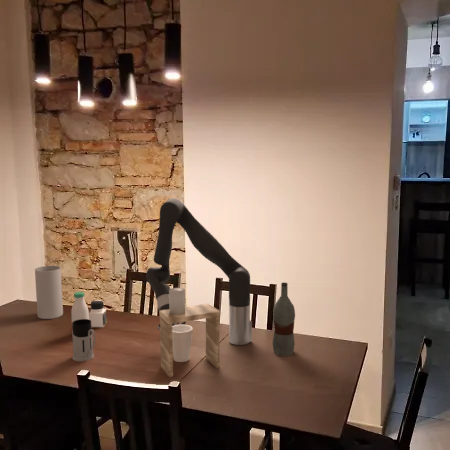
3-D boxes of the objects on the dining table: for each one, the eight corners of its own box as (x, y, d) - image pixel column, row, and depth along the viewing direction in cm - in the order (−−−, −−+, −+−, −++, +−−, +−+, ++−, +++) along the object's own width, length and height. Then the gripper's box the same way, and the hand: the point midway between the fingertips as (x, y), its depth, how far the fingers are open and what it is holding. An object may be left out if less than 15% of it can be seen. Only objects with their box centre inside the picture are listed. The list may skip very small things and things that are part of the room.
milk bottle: (93, 333, 237) (91, 292, 234) (80, 339, 231) (78, 296, 228) (81, 330, 241) (79, 289, 239) (68, 335, 235) (66, 293, 232)
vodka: (267, 352, 215) (268, 283, 211) (280, 346, 222) (281, 279, 217) (286, 358, 209) (287, 287, 205) (298, 352, 216) (300, 283, 211)
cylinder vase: (32, 319, 258) (29, 270, 255) (45, 311, 271) (42, 265, 267) (55, 320, 256) (53, 271, 253) (67, 312, 268) (65, 266, 265)
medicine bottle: (103, 327, 246) (102, 303, 244) (88, 327, 246) (87, 303, 244) (107, 322, 253) (106, 299, 251) (92, 322, 253) (91, 299, 251)
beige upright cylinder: (181, 309, 199) (181, 287, 198) (187, 313, 194) (187, 290, 193) (167, 311, 197) (166, 289, 195) (172, 316, 191) (172, 292, 190)
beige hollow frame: (208, 357, 210) (208, 303, 207) (220, 367, 200) (219, 311, 197) (160, 366, 201) (159, 310, 198) (170, 377, 191) (169, 319, 188)
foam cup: (189, 364, 203) (188, 333, 201) (166, 362, 205) (166, 331, 203) (195, 355, 212) (195, 325, 210) (174, 353, 214) (173, 323, 212)
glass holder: (87, 351, 217) (85, 317, 215) (105, 360, 207) (103, 325, 205) (68, 356, 211) (66, 322, 209) (85, 367, 201) (84, 330, 199)
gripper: (154, 304, 216) (164, 342, 207) (183, 300, 222) (194, 337, 213) (150, 313, 222) (160, 350, 213) (179, 309, 227) (189, 344, 218)
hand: (177, 343), depth 213 cm, fingers closed
